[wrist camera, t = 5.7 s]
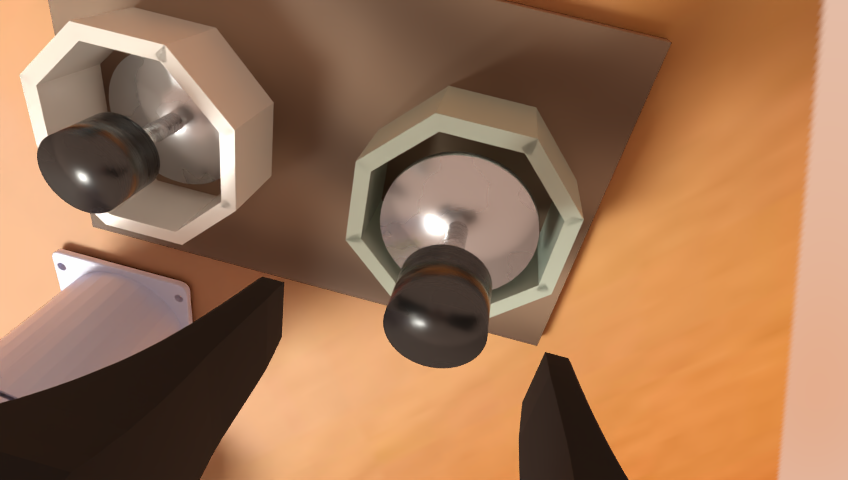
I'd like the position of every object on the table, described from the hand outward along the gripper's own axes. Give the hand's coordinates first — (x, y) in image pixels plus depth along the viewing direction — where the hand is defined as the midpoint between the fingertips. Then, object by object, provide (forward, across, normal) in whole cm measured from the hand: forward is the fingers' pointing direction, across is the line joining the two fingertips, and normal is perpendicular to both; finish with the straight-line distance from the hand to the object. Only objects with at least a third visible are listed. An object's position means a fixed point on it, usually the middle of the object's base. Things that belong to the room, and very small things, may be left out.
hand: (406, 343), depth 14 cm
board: (+10, +6, 0) cm, 12 cm away
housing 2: (+10, -1, 0) cm, 11 cm away
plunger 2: (+7, -1, 0) cm, 7 cm away
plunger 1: (+10, +12, 0) cm, 16 cm away
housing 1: (+10, +12, 0) cm, 16 cm away
